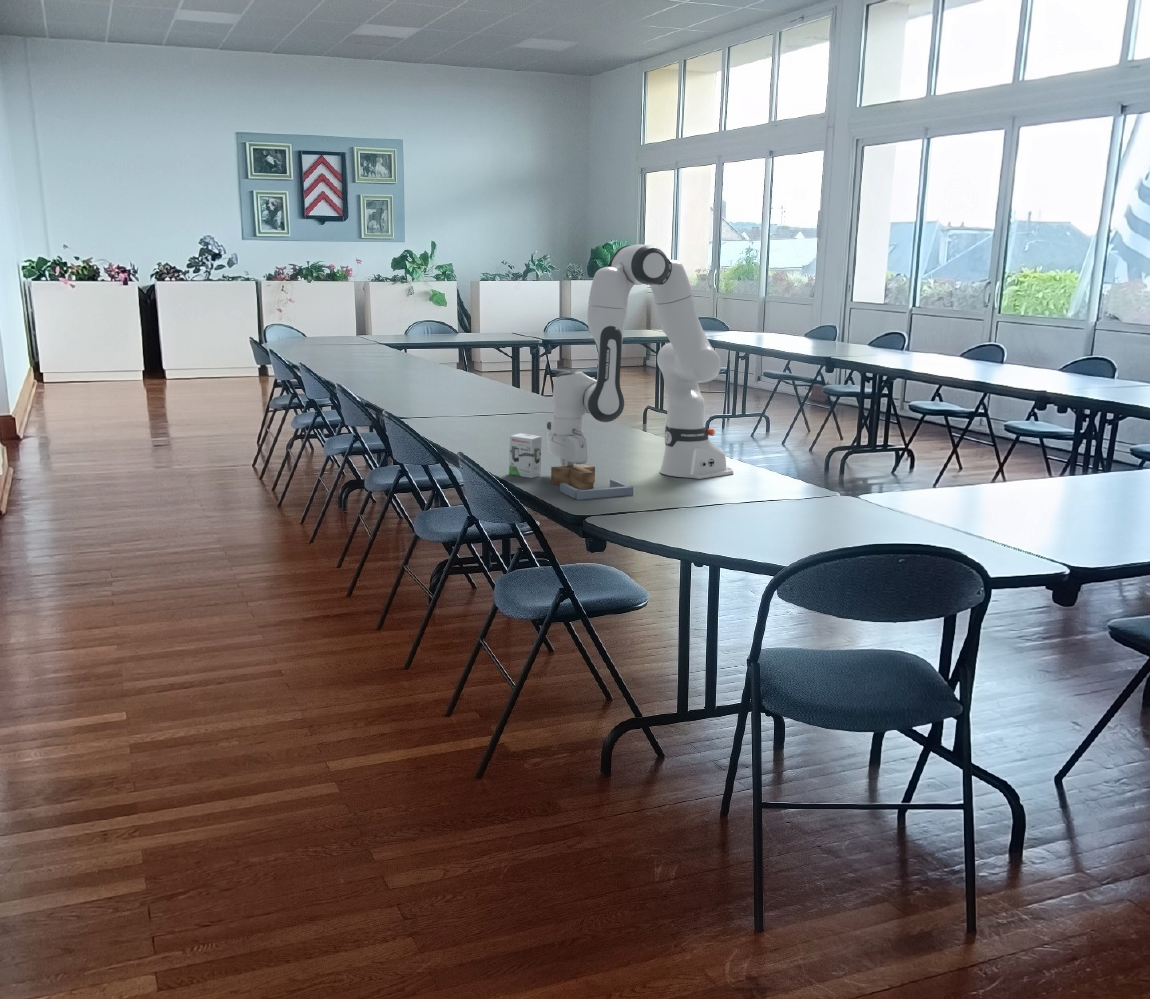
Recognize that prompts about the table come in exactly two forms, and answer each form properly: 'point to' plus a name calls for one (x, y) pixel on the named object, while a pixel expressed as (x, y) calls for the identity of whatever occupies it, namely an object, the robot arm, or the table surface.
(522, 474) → the ink box
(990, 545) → the table surface
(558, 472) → the t block
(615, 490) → the bay fence
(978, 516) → the table surface
